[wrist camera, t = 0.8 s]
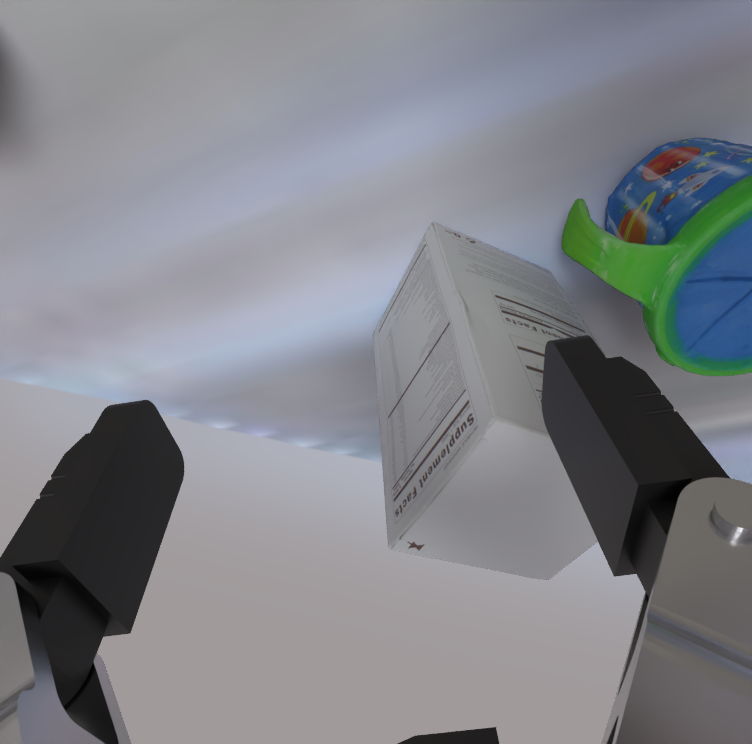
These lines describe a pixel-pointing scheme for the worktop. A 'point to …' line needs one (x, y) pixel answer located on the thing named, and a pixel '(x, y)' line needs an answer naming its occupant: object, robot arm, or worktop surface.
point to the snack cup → (680, 251)
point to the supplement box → (475, 411)
